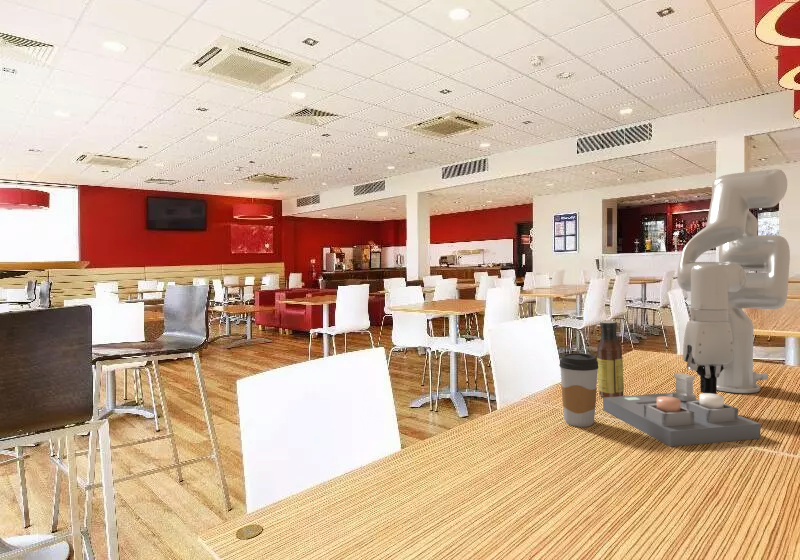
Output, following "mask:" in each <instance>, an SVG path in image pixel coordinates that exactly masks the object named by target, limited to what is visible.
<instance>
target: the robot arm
mask: <svg viewBox="0 0 800 560" xmlns="http://www.w3.org/2000/svg"><path fill="white" fill-rule="evenodd" d="M787 190H788V179H787V175H786V174H785V172H784V171H783V170H782V169H777V168H774V169H773V168H772V169H762V170H755V171H754V170H753V171H746V172H737V173H736V172H735V173H734V172H733V173H729V174H728V173H727V174H725V175H721V176H719V177H717V178H715V179H714V180H713V181H712V184H711V199H710V203H709V209H708V213H707V214H708V216H707V219H706V226H705V227H703V228H702V229H701V230H700V231H698V232H697V233H696V234H694V235H693V237H692V238H690V239H689V241H688V242H687V243H686V244H685V245H684V247H683V249H682V251H681V253H680V257H679V258H680V259H679V263H678V268H677V284H678V286H679V287H680V289H682V290H683V291H685V292H689V293H690V321H687V323H686V325H685V329H684V336H683V344H682V360H683V361H684V362H685V363H686V369H687V370H690V371H693V372H694V371H695V373H697V375H698V376H699V378H700V379H699V380H700V382H699V385H700V388H699V389H700V393H701V394H702V393H712V394H717V391H720V392H726V393H734V394H755V393H758V392H760V391H761V389H760V387H761V386H760V385H759V384H758V383H757V382H758V381H767V380H768V379H769V375H768V373H767V372H758V373H757V371H754V323H753V321H752V320H751V318H750V317H749V315H748V314H747V313H746V312H745V311H744V310H743V309H754V310H755V309H757V310H758V309H760V310H778V309H780V308H782V307H784V306H785V304H786V302H787V299H788V293H789V292H788V290H789V276H790V263H791V262H790V260H791V258H790V257H791V256H790V255H791V251H790V250H791V249H790V245H789V242H788V240H787V239H786V238H785V237H783V236H781V235H777V234H776V235H775V234H774V235H773V234H767V235H765V234H764V235H763V234H762V235H758V228H759V221H758V219H757V217H755V215H754V214H753V213H752V212H751V211H749V210H750V209H751V210H752V209H763V208H774V207H775V206H777V205H778V204H779V203H780V202H781V201H782V199H784V197H785V196H786V193H787ZM718 247H719V248H718ZM715 248H718V261H697V260H698V258H699V257H700V256H701V255H703V254H704V253H706V252H708V251H710V250H712V249H715ZM746 271H747V272H746ZM748 271H750V272H748ZM751 271H753V272H751ZM756 271H759V272H756ZM761 271H762V272H761ZM763 271H764V272H763Z"/></svg>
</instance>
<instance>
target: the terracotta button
mask: <svg viewBox="0 0 800 560" xmlns="http://www.w3.org/2000/svg"><path fill="white" fill-rule="evenodd" d="M657 409H658V410H661V411H663V412H665V413H669V412H681V400H680V399H678V398H675V397H668V396H660V397H657Z"/></svg>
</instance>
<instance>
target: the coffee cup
mask: <svg viewBox="0 0 800 560" xmlns="http://www.w3.org/2000/svg"><path fill="white" fill-rule="evenodd" d="M558 365H559V367H560V378H561V379H560V381H561V386H560V387H561V397H562V406H563V407H562V408H563V418H564V419H563V420H565V423H566V424H567V425H569V426H572V427H573V426H574V427H578V428H579V427H580V428H583V427H584V428H585V427H586V428H587V427H591V426H592V425H594V422H595V416H596V415H595V414H596V406H597V392H598V391H597V390H598V389H597V388H598V387H597V385H598V384H597V383H598V368H599V367H598V361H597V355H594V354H589V353H582V352H581V353H579V352H571V353H564V354H562V355H561V359H560V360H559V364H558Z"/></svg>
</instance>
